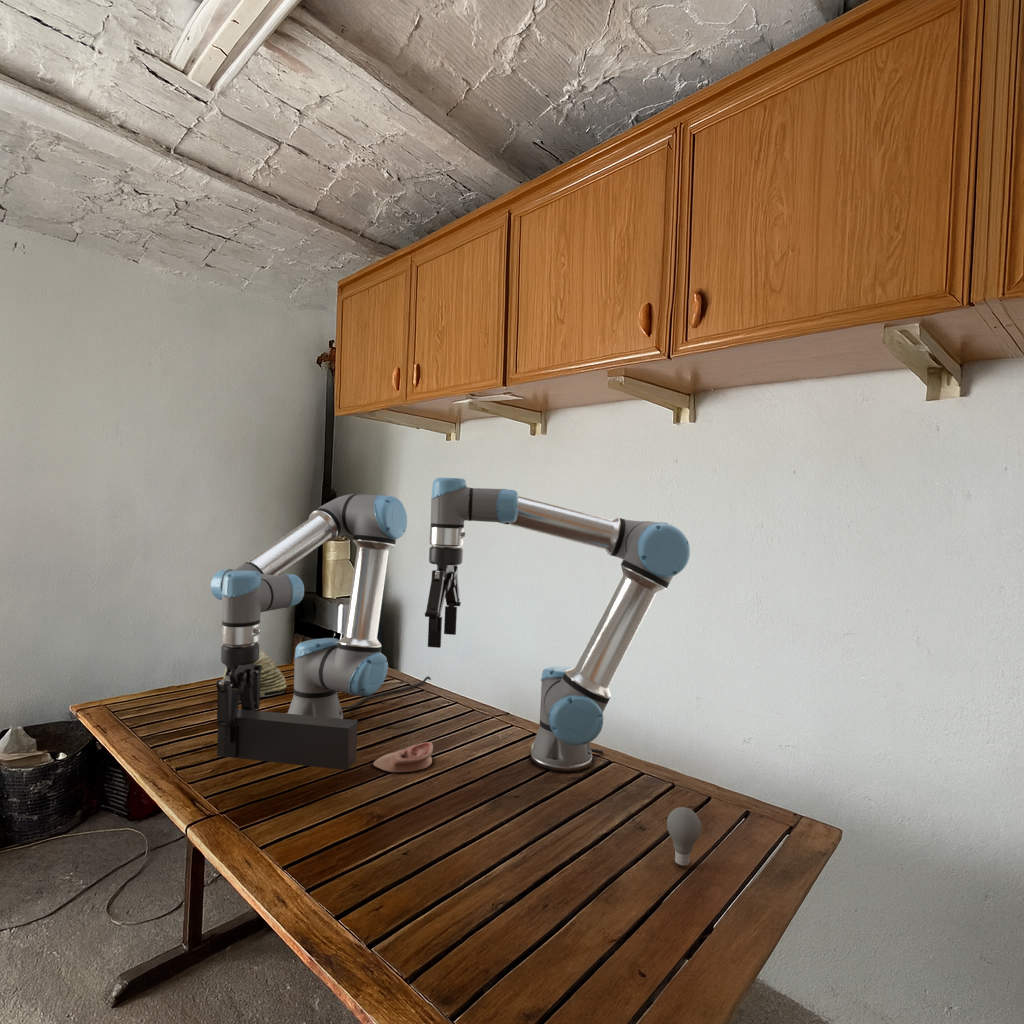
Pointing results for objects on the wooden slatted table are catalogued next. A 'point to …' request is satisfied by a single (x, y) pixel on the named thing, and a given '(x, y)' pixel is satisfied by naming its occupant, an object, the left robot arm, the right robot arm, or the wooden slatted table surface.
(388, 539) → the left robot arm
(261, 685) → the fossil
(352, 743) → the bar
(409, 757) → the anatomical model
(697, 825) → the light bulb
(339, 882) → the wooden slatted table surface
